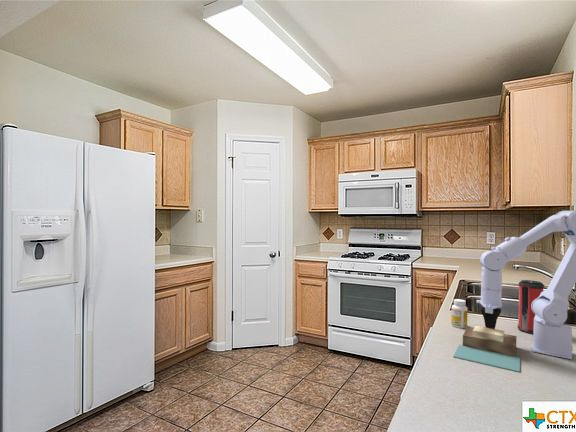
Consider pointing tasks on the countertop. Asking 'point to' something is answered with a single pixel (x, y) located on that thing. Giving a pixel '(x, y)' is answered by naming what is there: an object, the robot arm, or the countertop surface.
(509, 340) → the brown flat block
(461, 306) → the supplement bottle
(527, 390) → the countertop surface
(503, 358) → the mat
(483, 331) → the maple block
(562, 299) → the robot arm
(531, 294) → the speaker
